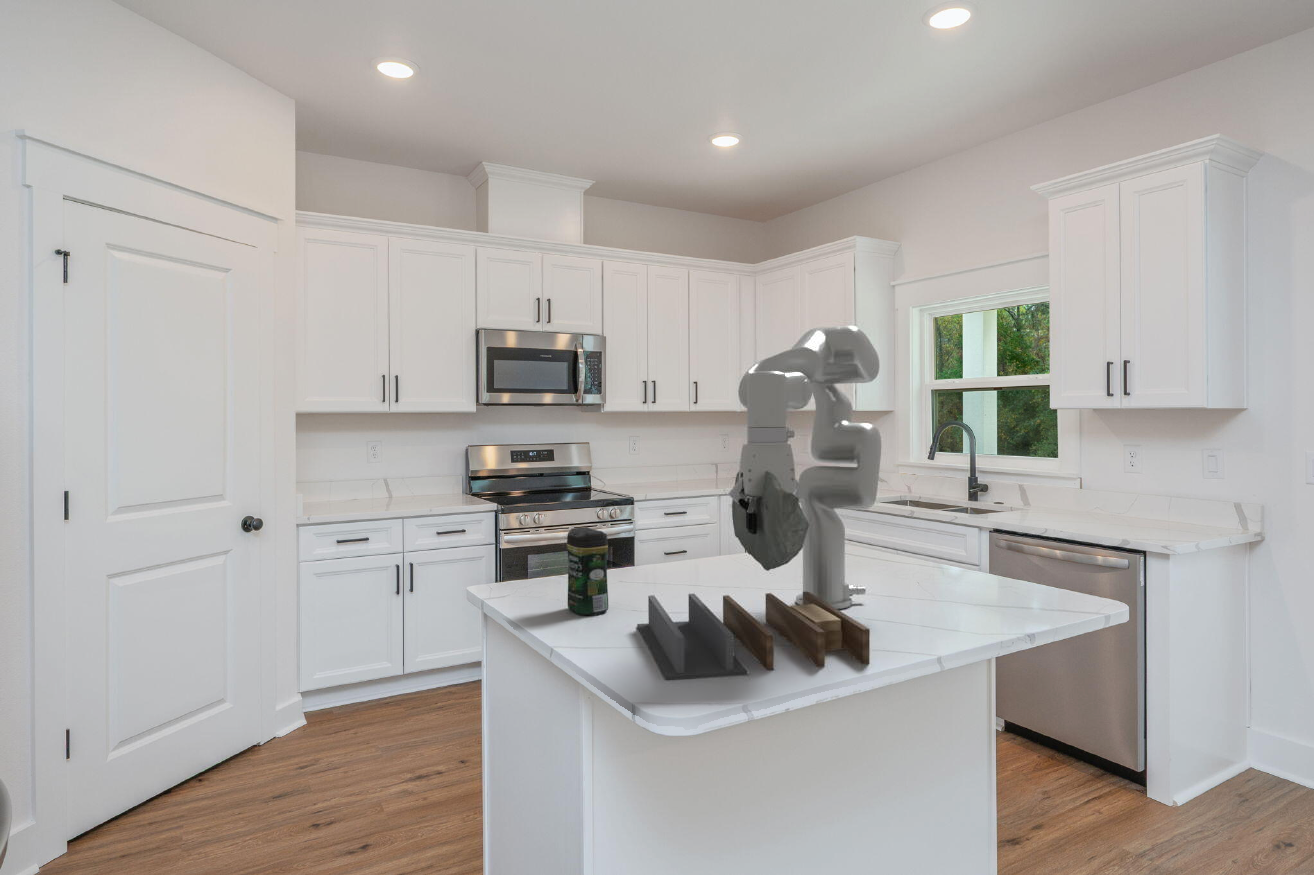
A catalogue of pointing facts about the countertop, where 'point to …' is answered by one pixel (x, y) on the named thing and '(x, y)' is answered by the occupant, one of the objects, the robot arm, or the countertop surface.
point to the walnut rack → (793, 630)
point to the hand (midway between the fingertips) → (767, 531)
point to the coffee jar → (587, 571)
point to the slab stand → (690, 643)
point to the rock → (772, 525)
